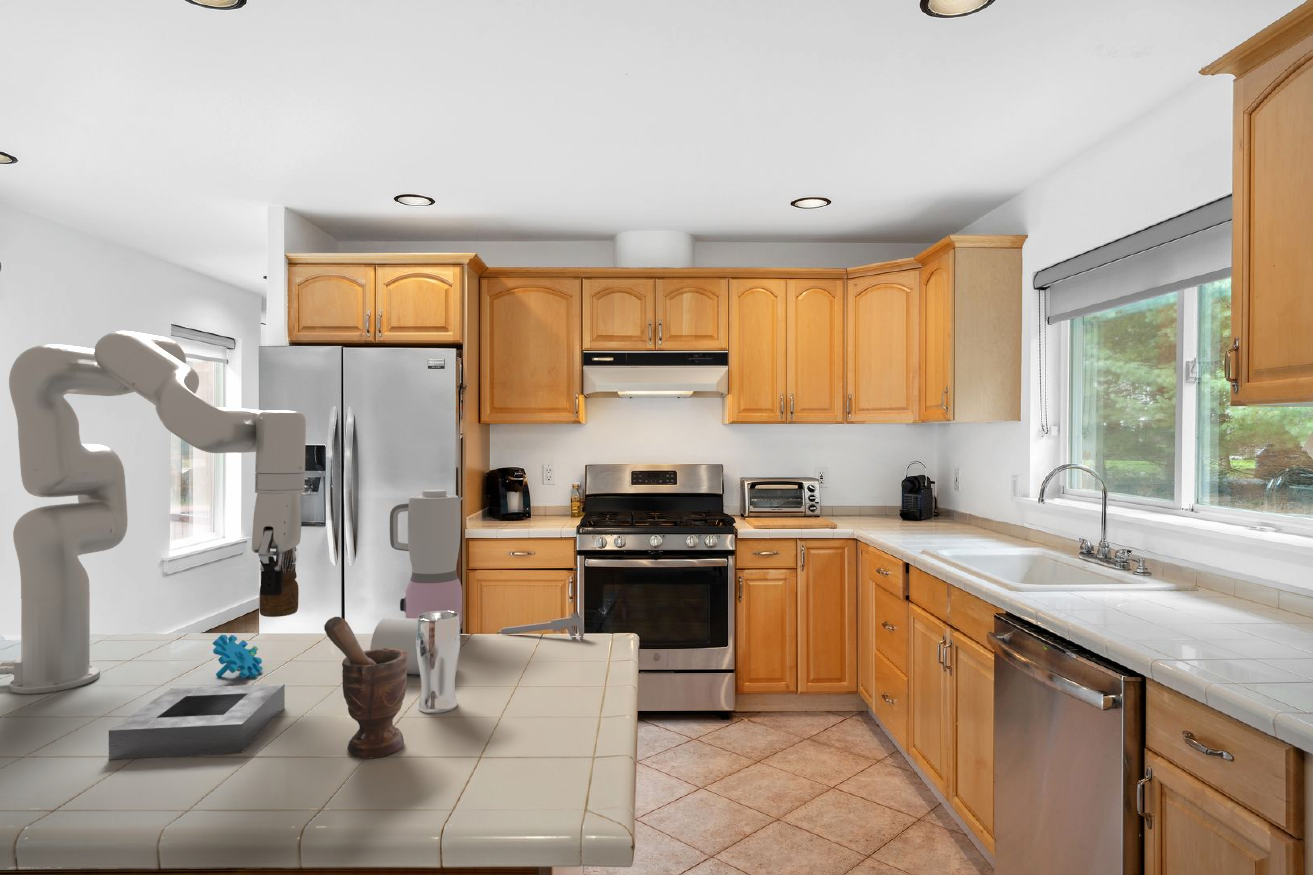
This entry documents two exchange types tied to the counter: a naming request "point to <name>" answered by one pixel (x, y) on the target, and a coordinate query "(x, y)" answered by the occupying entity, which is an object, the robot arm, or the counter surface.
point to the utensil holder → (281, 596)
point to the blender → (431, 552)
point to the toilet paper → (398, 639)
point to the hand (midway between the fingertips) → (278, 589)
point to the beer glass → (437, 659)
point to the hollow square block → (197, 721)
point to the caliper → (551, 626)
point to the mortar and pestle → (370, 691)
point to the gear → (236, 657)
